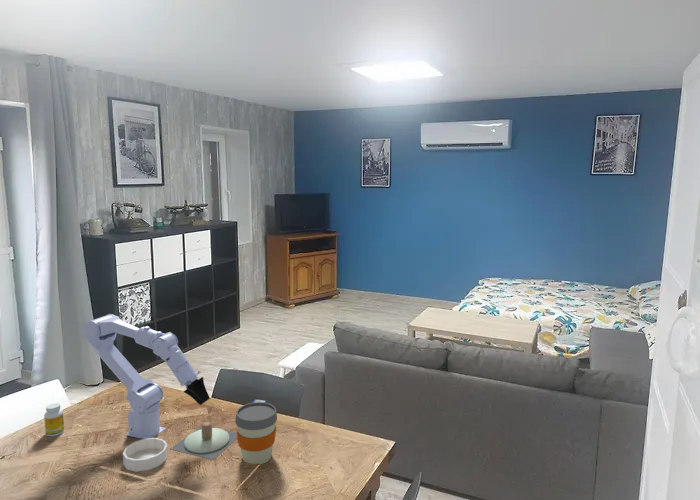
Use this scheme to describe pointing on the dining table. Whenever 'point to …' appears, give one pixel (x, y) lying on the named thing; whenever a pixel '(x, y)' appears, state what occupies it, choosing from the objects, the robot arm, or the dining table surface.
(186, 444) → the lid
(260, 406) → the reusable coffee cup
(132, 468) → the bowl
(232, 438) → the mat
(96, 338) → the robot arm
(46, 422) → the supplement bottle
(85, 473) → the dining table surface
